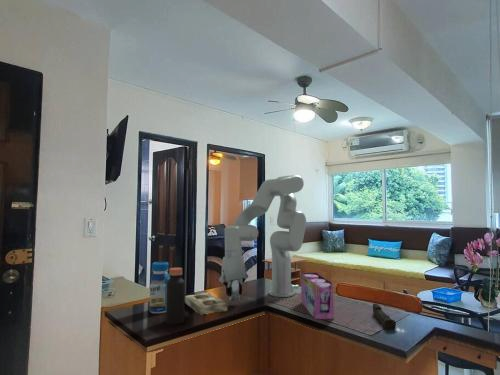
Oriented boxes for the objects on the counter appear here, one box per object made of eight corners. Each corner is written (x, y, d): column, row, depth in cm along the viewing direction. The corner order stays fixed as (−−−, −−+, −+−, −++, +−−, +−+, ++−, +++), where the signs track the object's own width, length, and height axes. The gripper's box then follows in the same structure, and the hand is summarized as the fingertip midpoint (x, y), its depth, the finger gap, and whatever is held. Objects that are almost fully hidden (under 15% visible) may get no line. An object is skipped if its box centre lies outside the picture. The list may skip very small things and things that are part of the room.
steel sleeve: (236, 297, 145) (236, 277, 145) (241, 300, 141) (240, 279, 141) (227, 299, 143) (227, 279, 143) (232, 302, 139) (231, 281, 139)
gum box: (335, 320, 123) (335, 284, 124) (315, 321, 122) (315, 285, 123) (317, 302, 147) (317, 272, 148) (300, 302, 146) (300, 272, 147)
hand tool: (396, 331, 112) (396, 318, 113) (384, 330, 113) (384, 317, 113) (381, 314, 131) (380, 302, 132) (370, 313, 132) (370, 302, 132)
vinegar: (164, 320, 123) (165, 267, 124) (182, 317, 126) (182, 266, 127) (167, 326, 117) (168, 270, 118) (185, 323, 119) (186, 269, 121)
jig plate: (209, 298, 152) (209, 292, 152) (227, 310, 134) (227, 303, 134) (184, 302, 146) (184, 295, 146) (200, 315, 128) (200, 307, 128)
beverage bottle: (173, 310, 134) (174, 262, 136) (155, 315, 128) (156, 265, 129) (162, 306, 140) (163, 260, 141) (145, 311, 134) (146, 262, 135)
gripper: (245, 250, 150) (246, 289, 149) (212, 254, 142) (213, 295, 141) (253, 252, 144) (254, 293, 143) (219, 256, 135) (220, 300, 134)
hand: (234, 294), depth 142 cm, fingers closed on steel sleeve, 4 cm apart
